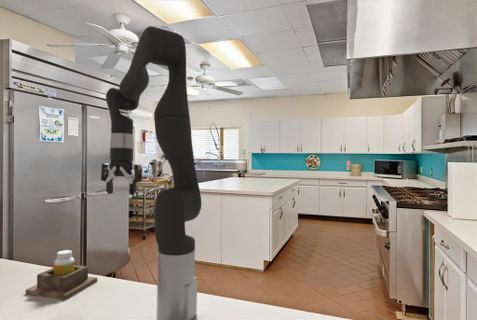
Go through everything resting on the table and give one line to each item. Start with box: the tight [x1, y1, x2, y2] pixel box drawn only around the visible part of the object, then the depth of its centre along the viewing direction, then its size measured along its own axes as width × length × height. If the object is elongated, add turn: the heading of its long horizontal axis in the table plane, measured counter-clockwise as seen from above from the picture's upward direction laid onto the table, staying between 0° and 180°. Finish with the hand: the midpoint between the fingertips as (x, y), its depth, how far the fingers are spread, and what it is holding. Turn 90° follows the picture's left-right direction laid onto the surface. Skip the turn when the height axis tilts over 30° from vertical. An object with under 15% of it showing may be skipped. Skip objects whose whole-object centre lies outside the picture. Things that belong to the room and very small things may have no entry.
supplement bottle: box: [53, 249, 75, 276], centre depth 91 cm, size 5×5×10 cm
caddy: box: [25, 264, 98, 300], centre depth 91 cm, size 14×13×5 cm
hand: (120, 194), depth 101 cm, fingers open, 8 cm apart
